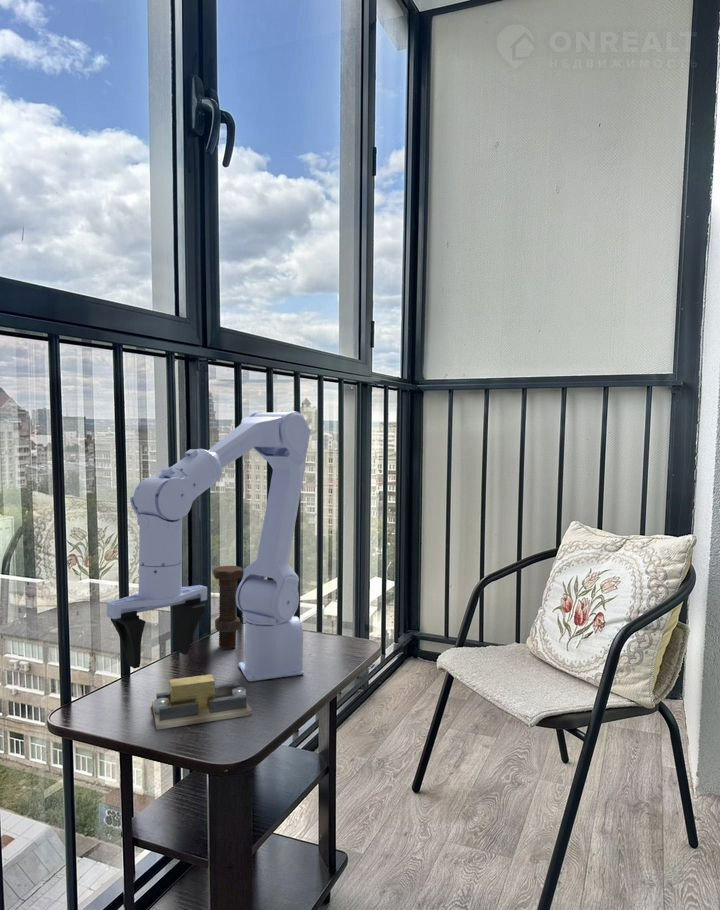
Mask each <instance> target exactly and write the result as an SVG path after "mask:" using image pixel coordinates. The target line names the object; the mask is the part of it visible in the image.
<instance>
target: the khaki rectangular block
mask: <svg viewBox="0 0 720 910" xmlns="http://www.w3.org/2000/svg"><path fill="white" fill-rule="evenodd" d="M215 686H216V680H215V678H214V675H213V674H212V673H211V674H205V675H203V674H201V675H196V676H195V675H194V676H188V677H182V678H181V677H180V678H173V679H169V692H170V703H169V706H171V705H178V704H185V703H191V702H198V704H199V706H198V711H199V710H206V709H209V700H212V699H215Z"/></svg>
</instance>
